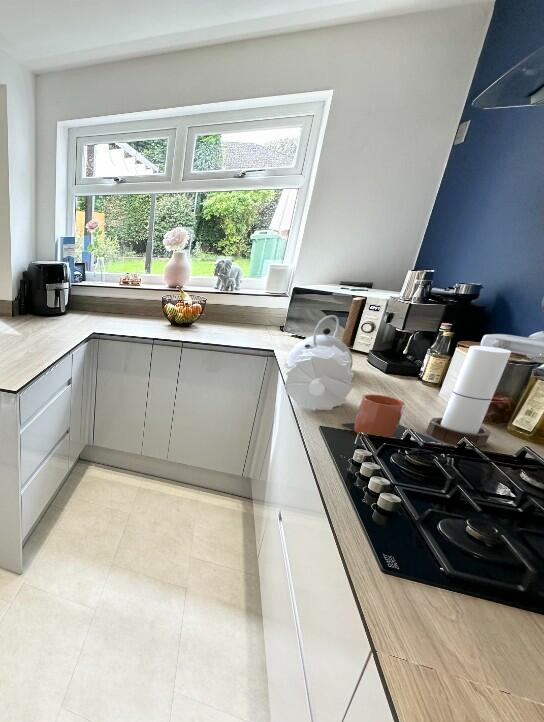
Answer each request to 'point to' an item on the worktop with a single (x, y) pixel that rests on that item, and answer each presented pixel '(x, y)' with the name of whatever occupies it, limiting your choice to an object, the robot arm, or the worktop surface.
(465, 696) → the worktop surface
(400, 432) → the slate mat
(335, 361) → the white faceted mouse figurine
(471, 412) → the cylindrical container
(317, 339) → the kettle
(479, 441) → the holder ring
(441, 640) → the worktop surface
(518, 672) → the worktop surface
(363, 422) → the terracotta cup
